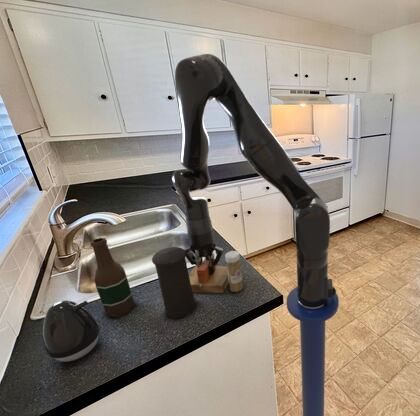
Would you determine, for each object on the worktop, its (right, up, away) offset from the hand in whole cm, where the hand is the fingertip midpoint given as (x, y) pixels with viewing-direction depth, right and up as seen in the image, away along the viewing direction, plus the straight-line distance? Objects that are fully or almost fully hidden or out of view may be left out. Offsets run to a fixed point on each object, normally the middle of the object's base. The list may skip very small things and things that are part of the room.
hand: (207, 273), depth 93 cm
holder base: (0, -3, +2) cm, 4 cm away
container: (-4, -8, -11) cm, 14 cm away
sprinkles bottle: (+11, -5, -2) cm, 12 cm away
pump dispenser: (-23, -14, -24) cm, 36 cm away
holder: (0, 0, 0) cm, 1 cm away
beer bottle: (-23, -8, -10) cm, 26 cm away
